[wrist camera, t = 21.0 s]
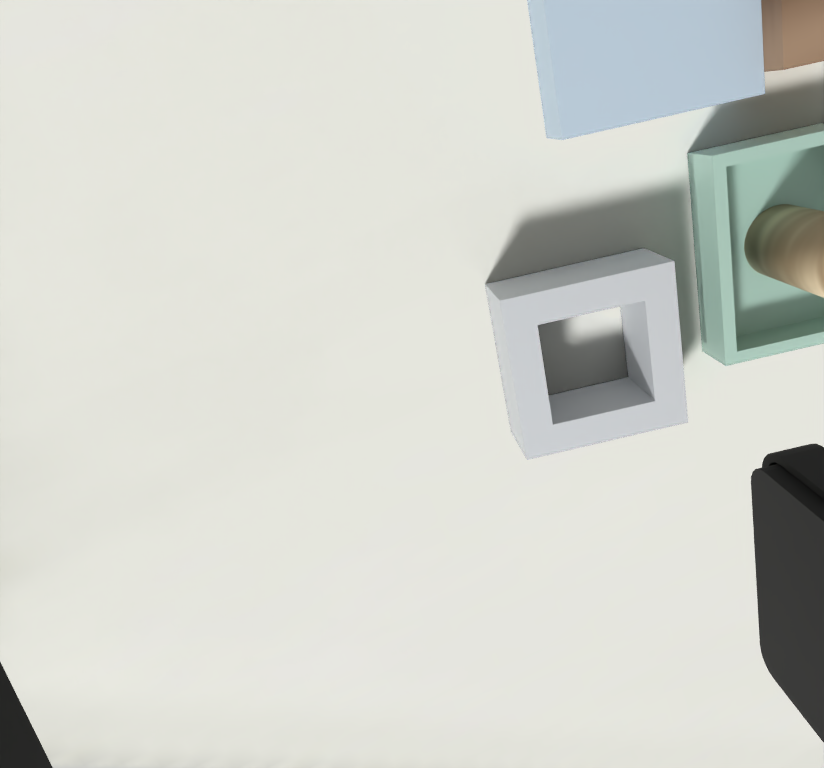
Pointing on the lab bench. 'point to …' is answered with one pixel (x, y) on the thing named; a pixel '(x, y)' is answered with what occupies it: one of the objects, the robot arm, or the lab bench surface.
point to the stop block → (792, 33)
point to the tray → (725, 235)
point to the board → (642, 59)
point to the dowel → (788, 246)
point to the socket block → (602, 403)
